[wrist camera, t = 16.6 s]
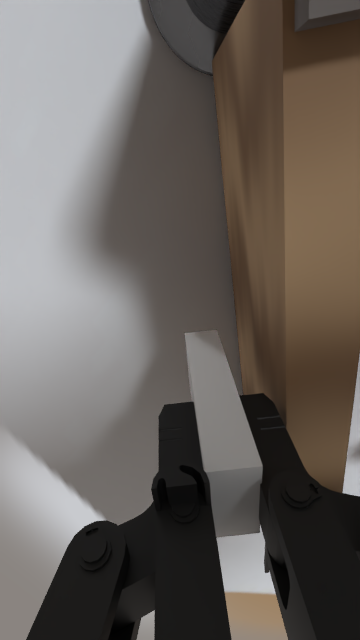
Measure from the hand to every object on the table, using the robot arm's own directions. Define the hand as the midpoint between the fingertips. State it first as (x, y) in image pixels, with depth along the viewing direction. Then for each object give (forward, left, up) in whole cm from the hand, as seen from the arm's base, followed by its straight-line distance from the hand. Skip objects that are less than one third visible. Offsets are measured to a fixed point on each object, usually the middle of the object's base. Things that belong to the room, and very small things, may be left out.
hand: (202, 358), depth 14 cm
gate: (-4, +2, -4) cm, 5 cm away
